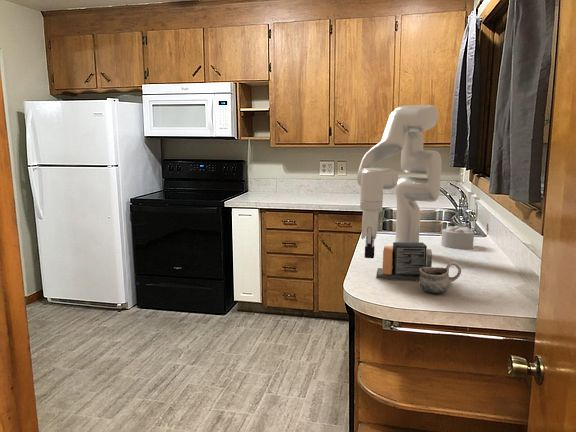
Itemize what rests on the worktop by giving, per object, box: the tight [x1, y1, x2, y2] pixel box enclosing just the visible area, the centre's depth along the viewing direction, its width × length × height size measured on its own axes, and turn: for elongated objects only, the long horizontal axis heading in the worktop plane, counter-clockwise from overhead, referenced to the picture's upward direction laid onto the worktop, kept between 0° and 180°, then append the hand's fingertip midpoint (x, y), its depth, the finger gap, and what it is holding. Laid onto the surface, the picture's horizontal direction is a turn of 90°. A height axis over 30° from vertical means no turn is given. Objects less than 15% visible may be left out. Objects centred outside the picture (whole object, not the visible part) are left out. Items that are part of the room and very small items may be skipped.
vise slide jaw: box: [382, 245, 393, 274], centre depth 166 cm, size 8×3×8 cm, turn 166°
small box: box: [392, 241, 428, 276], centre depth 164 cm, size 11×6×10 cm, turn 87°
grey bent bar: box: [375, 248, 433, 283], centre depth 165 cm, size 8×18×10 cm, turn 76°
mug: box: [419, 261, 462, 294], centre depth 150 cm, size 10×12×10 cm
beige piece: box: [440, 225, 475, 250], centre depth 212 cm, size 10×13×9 cm
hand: (369, 257), depth 168 cm, fingers closed
